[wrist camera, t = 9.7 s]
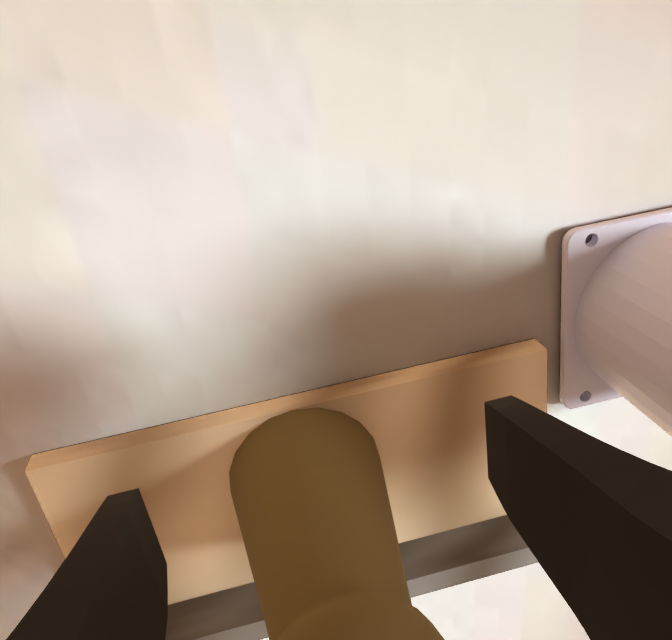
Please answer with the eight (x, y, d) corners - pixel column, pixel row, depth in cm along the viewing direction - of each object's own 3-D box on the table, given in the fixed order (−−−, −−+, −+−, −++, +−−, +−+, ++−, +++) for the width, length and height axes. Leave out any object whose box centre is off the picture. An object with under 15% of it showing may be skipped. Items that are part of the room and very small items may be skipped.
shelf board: (534, 338, 25) (575, 373, 22) (535, 507, 28) (570, 555, 26) (32, 454, 22) (7, 510, 20) (107, 621, 26) (95, 686, 23)
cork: (203, 512, 24) (201, 842, 14) (269, 386, 22) (321, 657, 12) (337, 547, 26) (419, 855, 16) (406, 435, 24) (547, 700, 14)
